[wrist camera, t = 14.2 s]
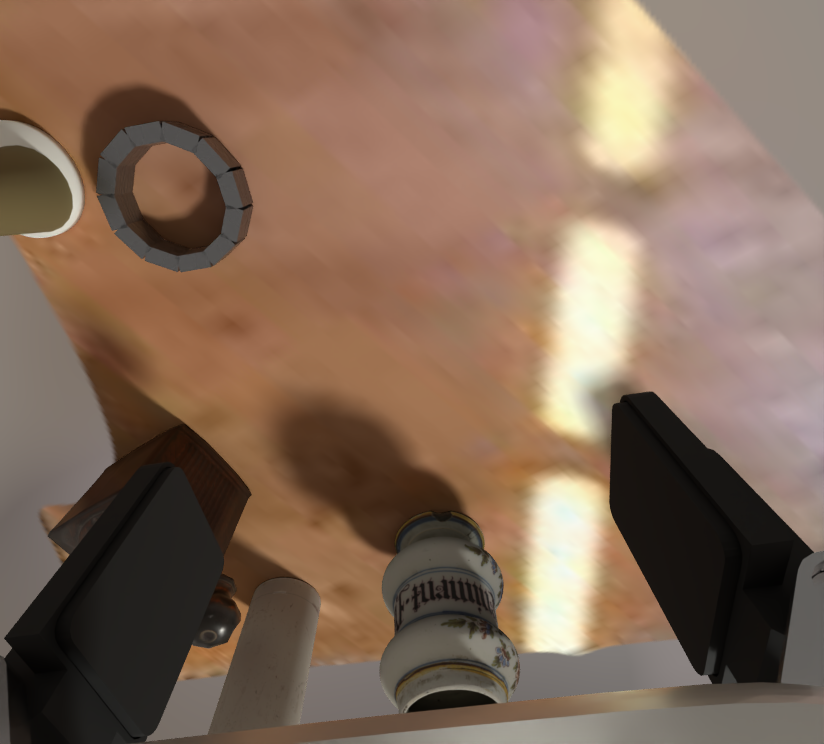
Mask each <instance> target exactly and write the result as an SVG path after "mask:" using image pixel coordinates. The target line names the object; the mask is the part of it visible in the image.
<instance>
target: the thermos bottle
mask: <svg viewBox="0 0 824 744" xmlns="http://www.w3.org/2000/svg"><path fill="white" fill-rule="evenodd" d="M320 605H321V601H320V597H319V594H318V593H317V591H316V590H315V589H314V588H313V587H312V586H310V585H309V584H307V583H305V582H303V581H300V580H297V579H293V578H275V579H271V580H268V581H266V582H264V583H262V584H261V585H260V586H258V587H257V589H256V590H255V592H254V595H253V597H252V600H251V604H250V607H249V610H248V613H247V616H246V619H245V622H244V625H243V628H242V631H241V634H240V637H239V640H238V643H237V646H236V649H235V652H234V656H233V659H232V662H231V665H230V668H229V671H228V674H227V677H226V680H225V683H224V686H223V689H222V692H221V696H220V698H219V702H218V705H217V708H216V711H215V714H214V717H213V720H212V723H211V726H210V729H209V732H208V735H210V734H219V733H228V732H237V731H245V730H254V729H263V728H272V727H282V726H291V725H299V724H300V718H301V713H302V707H303V702H304V695H305V690H306V685H307V679H308V673H309V668H310V662H311V657H312V651H313V645H314V640H315V634H316V629H317V623H318V617H319V612H320Z"/></svg>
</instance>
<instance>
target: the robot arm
mask: <svg viewBox="0 0 824 744" xmlns="http://www.w3.org/2000/svg"><path fill="white" fill-rule="evenodd" d="M609 502H610V509H611V513H612V516H613V519H614V521H615V523H616V524H617V526H618V528H619V530H620V532H621V534H622V536H623V538H624V539H625V541H626V543H627V545H628V547H629V549H630V551H631V552H632V554H633V556H634V558H635V560H636V562H637V564H638V566H639V567H640V569H641V571H642V573H643V575H644V577H645V579H646V580H647V582H648V584H649V586H650V588H651V590H652V592H653V593H654V595H655V597H656V599H657V601H658V603H659V605H660V607H661V608H662V610H663V612H664V614H665V616H666V618H667V620H668V621H669V623H670V625H671V627H672V629H673V631H674V633H675V635H676V636H677V638H678V640H679V642H680V644H681V646H682V648H683V649H684V651H685V653H686V655H687V657H688V659H689V661H690V663H691V664H692V666H693V668H694V669H695V671H696V672H697V673H698V674H700V675H701V676H702V675H708V676H709V678H710V680H711V682H712V684H703V685H692V686H679V687H667V688H655V689H643V690H631V691H620V692H608V693H596V694H586V695H576V696H568V697H557V698H547V699H537V700H528V701H518V702H508V703H498V704H488V705H478V706H469V707H459V708H449V709H439V710H430V711H421V712H411V713H402V714H393V715H384V716H375V717H365V718H356V719H346V720H337V721H328V722H318V723H309V724H300V725H291V726H282V727H272V728H263V729H254V730H245V731H237V732H228V733H219V734H210V735H202V736H193V737H184V738H175V739H167V740H158V741H149V742H145V741H146V739H147V736H149V735H151V734H152V733H153V732H154V731H155V730H156V728H157V726H158V724H159V722H160V720H161V717H162V715H163V712H164V710H165V708H166V705H167V703H168V700H169V698H170V696H171V693H172V691H173V688H174V686H175V684H176V681H177V679H178V676H179V674H180V672H181V669H182V667H183V664H184V662H185V660H186V657H187V655H188V652H189V650H190V648H191V645H192V643H193V640H194V638H195V636H196V633H197V631H198V628H199V626H200V623H201V621H202V619H203V616H204V614H205V611H206V609H207V607H208V604H209V602H210V599H211V597H212V595H213V592H214V590H215V587H216V585H217V583H218V580H219V578H220V575H221V573H222V570H223V566H224V557H223V553H222V551H221V549H220V546H219V544H218V542H217V540H216V538H215V536H214V534H213V532H212V530H211V528H210V526H209V523H208V521H207V519H206V517H205V515H204V513H203V511H202V509H201V507H200V505H199V503H198V501H197V498H196V496H195V494H194V492H193V490H192V488H191V486H190V484H189V482H188V480H187V478H186V475H185V473H184V472H183V470H182V469H181V468H179V467H175V465H174V464H172V463H171V462H163V463H156V464H149V465H144V466H141V467H140V468H138V469H137V471H136V472H135V473H134V474H133V476H132V477H131V478H130V479H129V481H128V482H127V483H126V485H125V486H124V487H123V488H122V490H121V491H120V492H119V493H118V495H117V496H116V497H115V498H114V500H113V501H112V502H111V504H110V505H109V506H108V507H107V509H106V510H105V511H104V512H103V514H102V515H101V516H100V517H99V519H98V520H97V521H96V523H95V524H94V525H93V526H92V528H91V529H90V530H89V531H88V533H87V534H86V535H85V536H84V538H83V539H82V540H81V542H80V543H79V544H78V545H77V547H76V548H75V549H74V550H73V552H72V553H71V554H70V555H69V557H68V558H67V559H66V561H65V562H64V563H63V564H62V566H61V567H60V568H59V569H58V571H57V572H56V573H55V574H54V576H53V577H52V578H51V580H50V581H49V582H48V583H47V585H46V586H45V587H44V589H43V590H42V591H41V592H40V593H39V595H38V596H37V597H36V599H35V600H34V601H33V602H32V604H31V605H30V606H29V607H28V609H27V610H26V611H25V613H24V614H23V615H22V616H21V617H20V619H19V620H18V621H17V623H16V624H15V625H14V627H13V628H12V629H11V630H10V632H9V633H8V634H7V635H6V637H5V638H4V639H5V640H6V641H7V642H8V643H9V644H10V646H11V647H12V649H11V651H10V652H9V653H8V655H7V656H6V657H5V658H4V657H2V656H0V744H824V551H821V552H816V553H814V552H813V551H812V550H811V549H810V548H809V547H808V546H807V545H806V544H805V543H804V542H803V541H802V540H801V538H800V537H799V536H798V535H797V534H796V533H795V532H794V531H793V530H792V529H791V528H790V527H789V526H788V525H787V524H786V523H785V522H784V521H783V520H782V519H781V518H780V517H779V516H778V515H777V514H776V513H775V512H774V511H773V510H772V509H771V508H770V506H769V505H768V504H767V503H766V502H765V501H764V500H763V499H762V498H761V497H760V496H759V495H758V494H757V493H756V492H755V491H754V490H753V489H752V488H751V487H750V486H749V485H748V484H747V483H746V482H745V481H744V480H743V479H742V478H741V477H740V475H739V474H738V473H737V472H736V471H735V470H734V469H733V468H732V467H731V466H730V465H729V464H728V463H727V462H726V461H725V460H724V459H723V458H722V457H721V456H720V455H719V454H718V453H716V452H715V451H714V450H711V449H708V448H707V447H706V446H705V445H704V444H703V443H702V442H701V441H700V440H699V439H698V438H697V437H696V436H695V435H694V434H693V433H692V432H691V431H690V430H689V429H688V427H687V426H686V425H685V424H684V423H683V422H682V421H681V420H680V419H679V418H678V417H677V416H676V415H675V414H674V413H673V412H672V411H671V410H670V409H669V407H668V406H667V405H666V404H665V403H664V402H663V401H662V400H661V399H660V398H659V397H658V396H657V395H656V394H655V393H654V392H643V393H636V394H629V395H623V396H622V397H621V400H620V403H616V404H614V405H613V407H612V430H611V465H610V499H609Z"/></svg>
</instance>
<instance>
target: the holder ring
mask: <svg viewBox="0 0 824 744" xmlns="http://www.w3.org/2000/svg"><path fill="white" fill-rule="evenodd" d="M164 143H169V144H171V145H174V146H177V147H179V148H182V149H184V150H187V151H190V152H192V153H194V154H195V155H196V156H197V157H198V158H199V159H200V161H201V162H202V163H203V164H204V165H205V166H206V167H207V168H208V169H209V170H210V171H211V172H212V173H213V174H214V175H215V176H216V178H217V181H218V184H219V187H220V190H221V193H222V196H223V199H224V202H225V205H226V210H225V215H224V220H223V226H222V231H221V234H220V235H219V236H218V237H217V238H216V239H215V240H214V241H213V242H212V243H211V244H210V245H209V246H204V247H198V248H192V249H190V248H187V247H184V246H181V245H178V244H175V243H173V242H170V241H167V240H164V239H163V238H162V237H161V236H160V235H159V234H158V233H157V232H156V231H155V230H154V229H153V228H152V227H151V226H150V225H149V224H148V223H147V222H146V221H145V220H144V219H143V217H142V215H141V212H140V210H139V207H138V205H137V202H136V200H135V197H134V195H133V192H132V190H133V181H134V172H135V165H136V163H137V162H138V161H139V160H140V159H141V158H142V157H143V156H144V154H145V153H146V152H147V151H148V150H149V149H150V148H151V147H152V146H153V145H158V144H164ZM100 155H101V156H102V157H100V158H99V163H98V177H97V190H96V193H99V194H102V195H100V196H97V197H98V200H99V202H100V204H101V207H102V209H103V211H104V213H105V216H106V218H107V220H108V222H109V225H110V227H111V229H112V231H113V230H117V231H116V232H115V235H116V236H117V237H118V238H119V239H121V240H122V241H123V242H124V243H125V244H126V245H127V246H128V247H129V248H130V249H131V250H133V251H134V252H135V253H136V254H137V255H138V256H139V257H140V258H141V259H143V258H145V261H147V262H150V263H153V264H156V265H159V266H161V267H164V268H167V269H170V270H173V271H176V272H178V271H181V272H185V271H191V270H197V269H202V268H208V267H212V266H213V265H216V264H217V263H218V262H220V261H221V260H223V259H224V258H225V257H226V256H227V255H228V254H229V253H231V252H232V251H233V250H234V249H235V248H236V247H237V246H238V245H239V244H240V243H241V242H242V241H243V240H244V239H245V238H244V237H246V236H247V232H248V227H249V223H250V218H251V214H252V209H253V206H252V205H250V204H251V203H253V201H252V197H251V194H250V191H249V187H248V184H247V181H246V177H245V174H244V171H243V169H239V170H237V169H238V168H239V167H240V166H241V165H240V164H239V163H238V162H237V160H236V159H235V158H234V157H233V156H232V155H231V154H230V153H229V152H228V151H227V149H226V148H225V147H224V146H223V145H222V144H221V143H220V142H219V141H218V139H217V138H216V137H215V138H212V135H211V134H208V133H205V132H203V131H200V130H198V129H195V128H193V127H190V126H187V125H185V124H182V123H180V122H172V121H156V122H151V123H146V124H141V125H135V126H130V127H125V129H121V130H120V132H119V133H118V134H117V135H116V136H115V138H114V139H113V140H112V141H111V142H110V143H109V145H108V146H107V147H106V148H105V149H104V151H103V152H102V153H101V154H100Z"/></svg>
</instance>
